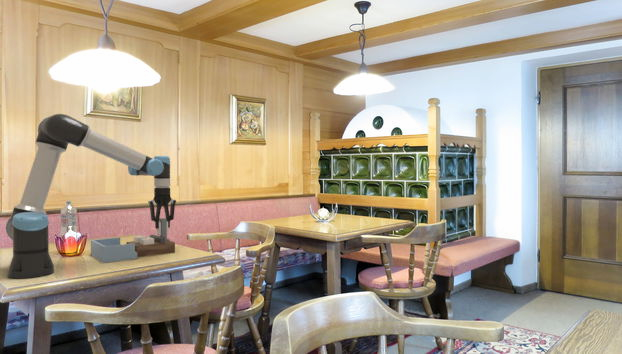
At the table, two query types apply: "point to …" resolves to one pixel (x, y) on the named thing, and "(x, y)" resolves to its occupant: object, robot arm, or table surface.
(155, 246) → the brown wooden block
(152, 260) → the table surface
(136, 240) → the tile
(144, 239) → the tile
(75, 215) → the water bottle
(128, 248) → the box
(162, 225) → the scraper
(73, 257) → the table surface
